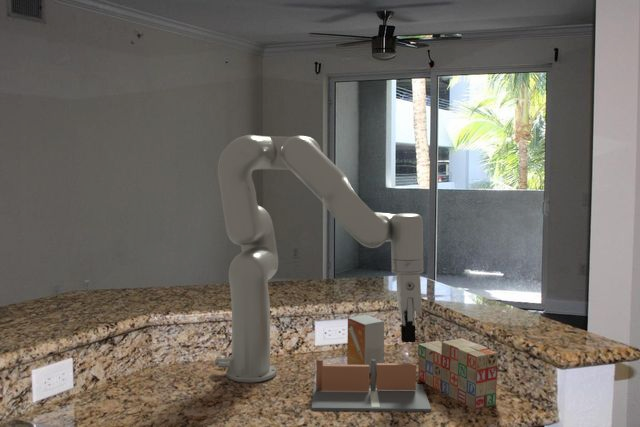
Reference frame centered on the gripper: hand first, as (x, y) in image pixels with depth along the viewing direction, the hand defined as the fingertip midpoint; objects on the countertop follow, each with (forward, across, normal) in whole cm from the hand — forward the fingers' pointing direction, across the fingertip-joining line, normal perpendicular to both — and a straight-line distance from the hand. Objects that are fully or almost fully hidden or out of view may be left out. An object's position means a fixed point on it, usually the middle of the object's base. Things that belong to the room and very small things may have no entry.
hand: (408, 341), depth 157 cm
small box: (+11, +13, +10) cm, 19 cm away
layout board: (+11, -8, +10) cm, 17 cm away
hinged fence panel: (+10, -5, +4) cm, 12 cm away
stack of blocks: (+12, -4, -10) cm, 16 cm away
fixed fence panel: (+10, -5, +16) cm, 20 cm away
